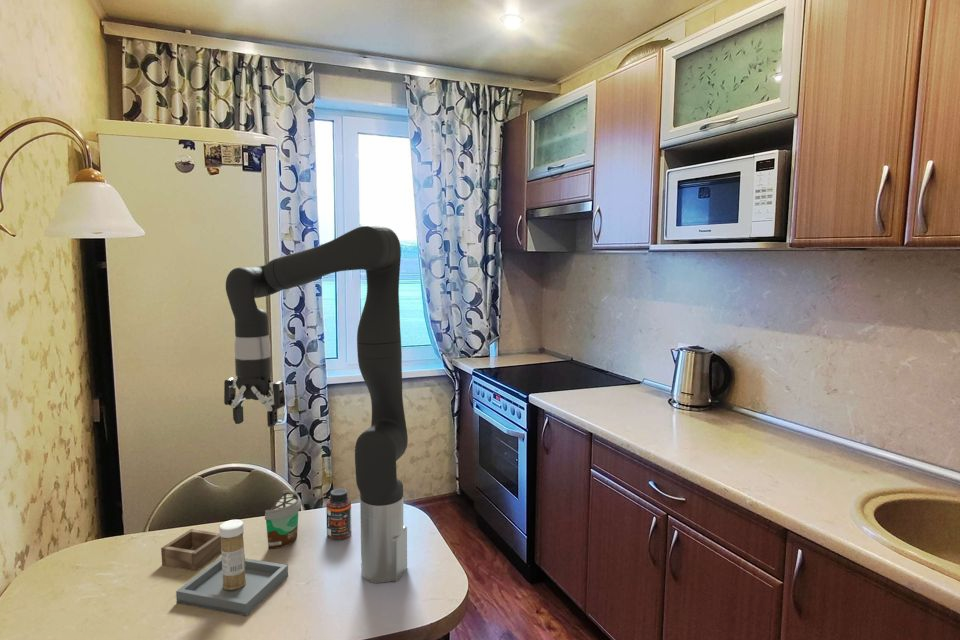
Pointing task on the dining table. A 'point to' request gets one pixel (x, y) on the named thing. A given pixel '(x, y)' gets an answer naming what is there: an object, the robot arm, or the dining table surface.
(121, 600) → the dining table surface
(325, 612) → the dining table surface
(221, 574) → the tray
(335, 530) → the supplement bottle
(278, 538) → the food container
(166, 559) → the socket
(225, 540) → the sprinkles bottle
